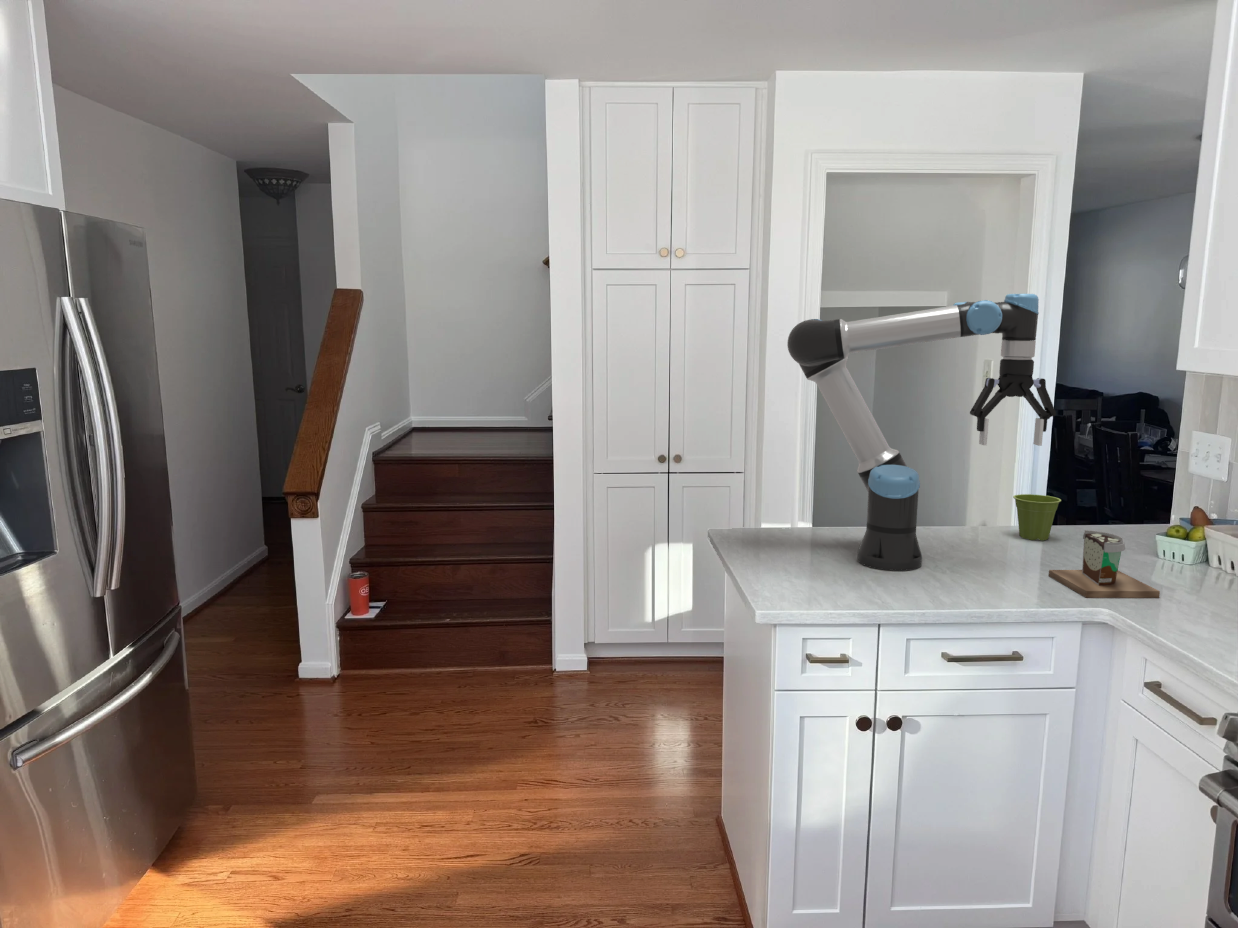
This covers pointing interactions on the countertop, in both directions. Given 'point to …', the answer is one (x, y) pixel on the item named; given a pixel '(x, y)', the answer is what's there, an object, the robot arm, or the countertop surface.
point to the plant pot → (1035, 515)
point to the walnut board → (1089, 589)
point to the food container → (1101, 556)
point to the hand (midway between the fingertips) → (1010, 444)
